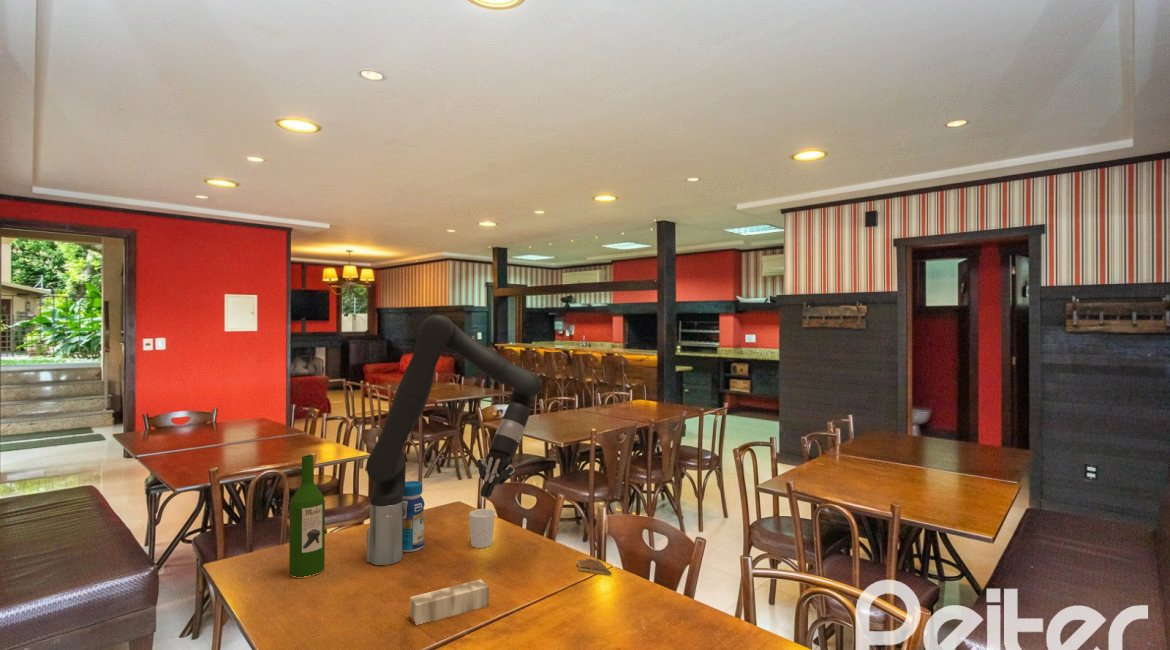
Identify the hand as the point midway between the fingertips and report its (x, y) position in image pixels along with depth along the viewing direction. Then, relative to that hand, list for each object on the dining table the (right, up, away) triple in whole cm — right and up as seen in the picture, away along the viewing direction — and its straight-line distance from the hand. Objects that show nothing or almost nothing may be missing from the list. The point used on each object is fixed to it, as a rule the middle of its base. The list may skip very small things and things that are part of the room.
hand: (484, 496), depth 158 cm
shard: (+31, -23, +7) cm, 39 cm away
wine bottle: (-50, -22, +3) cm, 55 cm away
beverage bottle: (-27, -22, +21) cm, 41 cm away
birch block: (+2, -20, -14) cm, 24 cm away
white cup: (-5, -22, +24) cm, 33 cm away
